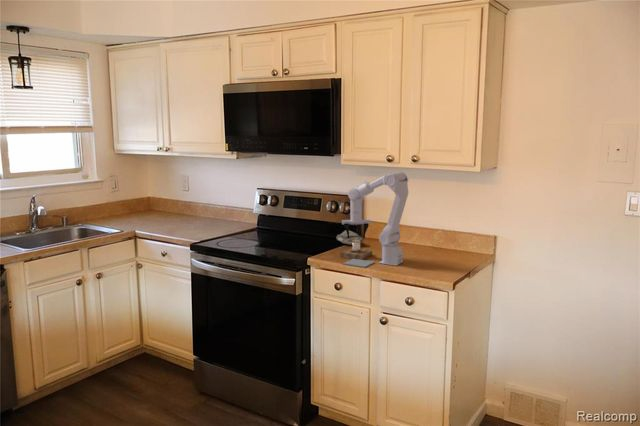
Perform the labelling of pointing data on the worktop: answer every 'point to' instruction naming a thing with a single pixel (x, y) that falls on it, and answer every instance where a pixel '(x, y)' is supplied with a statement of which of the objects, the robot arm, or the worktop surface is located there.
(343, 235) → the rock
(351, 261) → the mat
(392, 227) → the robot arm
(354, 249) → the plug
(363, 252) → the bore block
